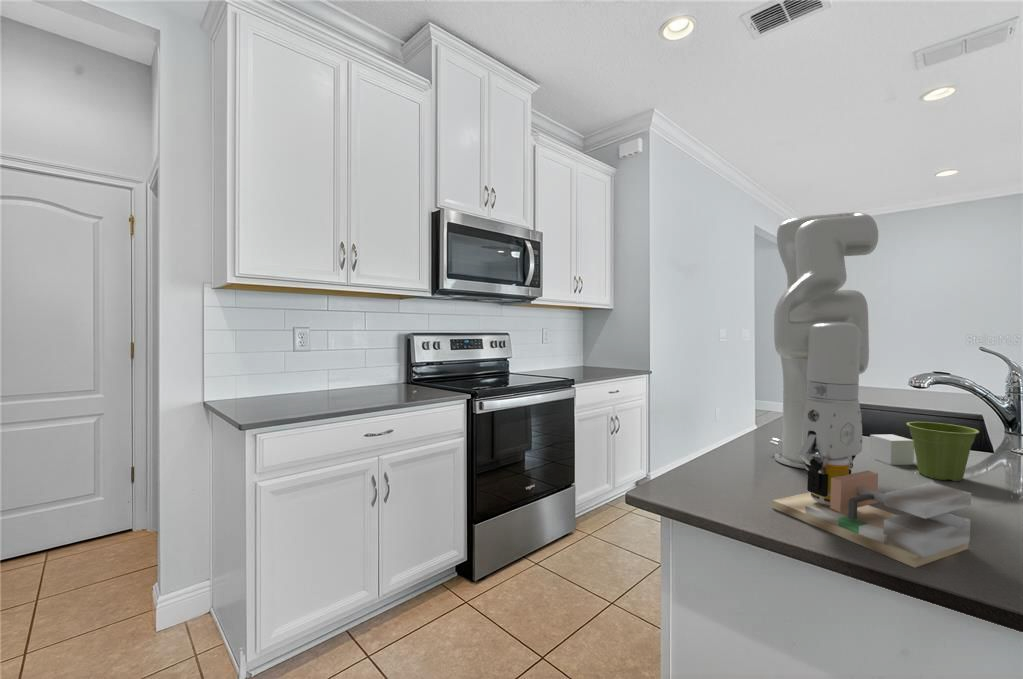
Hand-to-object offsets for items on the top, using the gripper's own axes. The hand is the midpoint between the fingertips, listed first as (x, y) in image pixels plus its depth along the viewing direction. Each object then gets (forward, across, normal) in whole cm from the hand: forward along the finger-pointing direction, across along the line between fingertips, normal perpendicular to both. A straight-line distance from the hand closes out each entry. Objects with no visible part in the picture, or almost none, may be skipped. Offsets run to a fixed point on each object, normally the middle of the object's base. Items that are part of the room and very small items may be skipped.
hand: (828, 490), depth 81 cm
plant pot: (+5, +44, +3) cm, 44 cm away
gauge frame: (+4, 0, -6) cm, 7 cm away
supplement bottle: (+2, 0, 0) cm, 2 cm away
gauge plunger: (+1, -1, -11) cm, 11 cm away
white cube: (+5, +47, +14) cm, 49 cm away
